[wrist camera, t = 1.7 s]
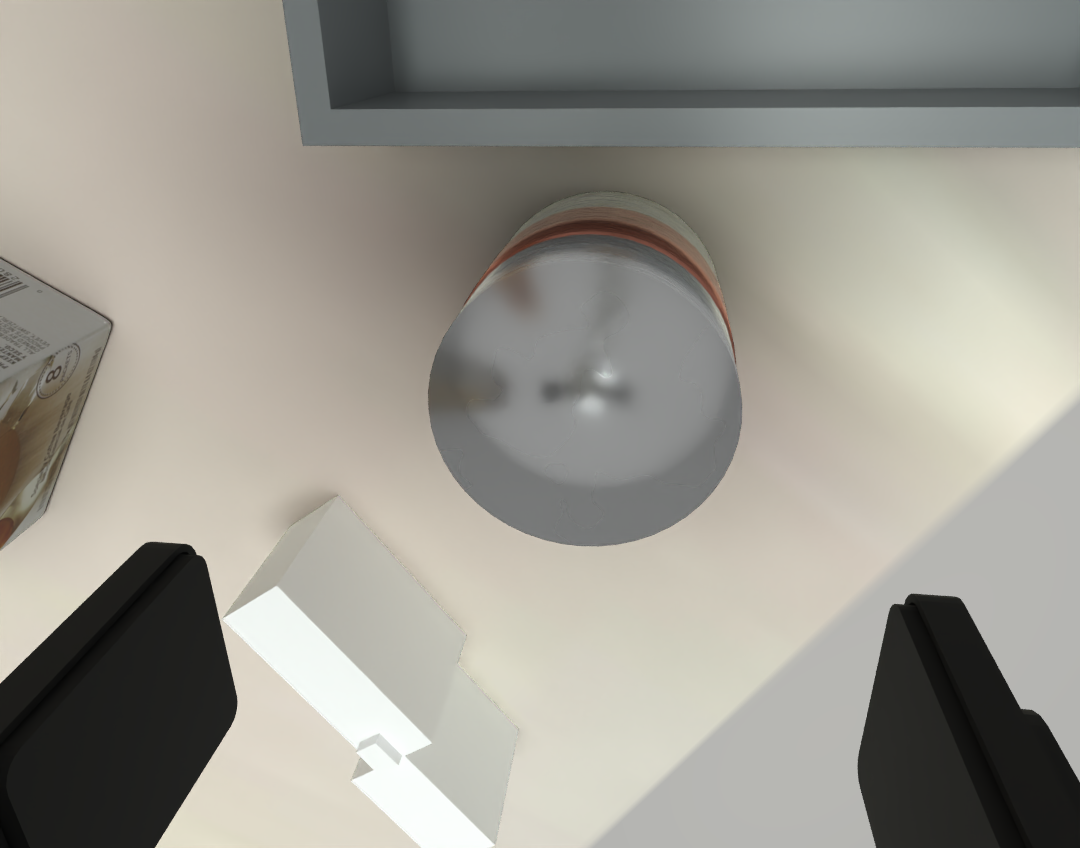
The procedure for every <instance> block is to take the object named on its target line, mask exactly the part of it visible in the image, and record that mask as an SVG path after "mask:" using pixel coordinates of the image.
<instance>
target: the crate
mask: <svg viewBox="0 0 1080 848" xmlns="http://www.w3.org/2000/svg"><path fill="white" fill-rule="evenodd" d="M282 1H283V8H284V15H285V23H286V30H287V37H288V44H289V51H290V58H291V65H292V72H293V80H294V87H295V94H296V101H297V108H298V115H299V122H300V130H301V137H302V144H303V146H634V147H1027V148H1080V0H282Z"/></svg>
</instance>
